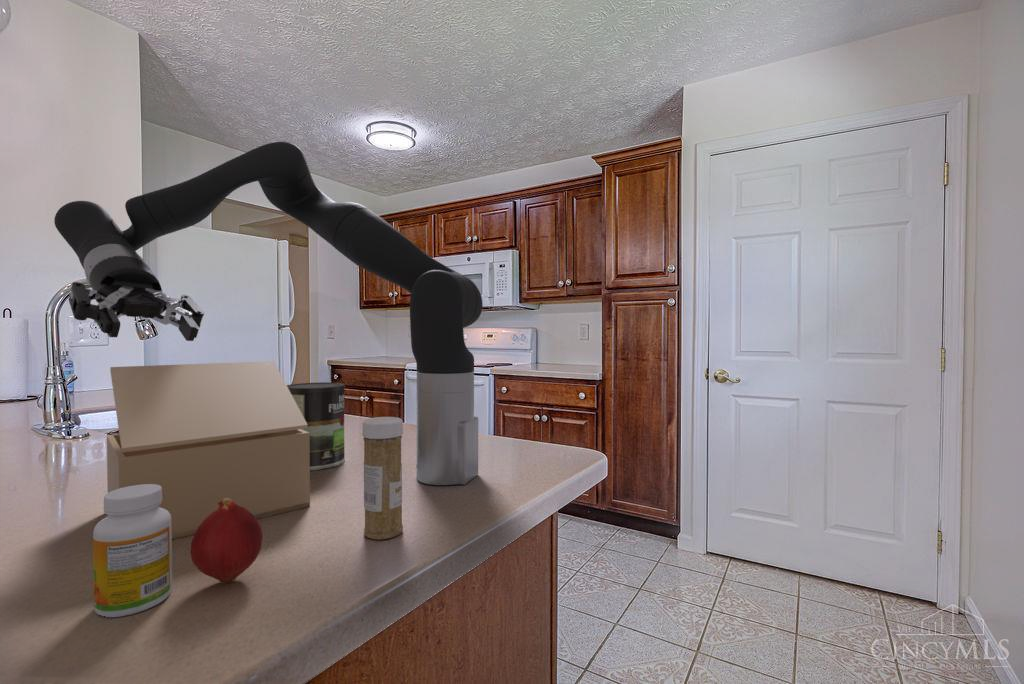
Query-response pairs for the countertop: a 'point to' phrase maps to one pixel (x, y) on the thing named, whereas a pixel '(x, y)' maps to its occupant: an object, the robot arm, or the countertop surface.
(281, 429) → the carton flap
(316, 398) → the coffee can
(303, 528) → the countertop surface
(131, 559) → the supplement bottle
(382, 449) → the sprinkles bottle
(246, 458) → the carton
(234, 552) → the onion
